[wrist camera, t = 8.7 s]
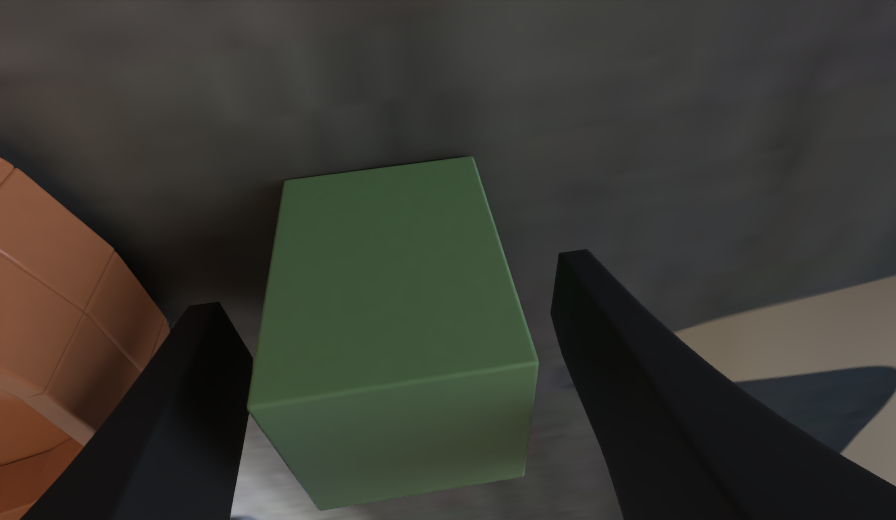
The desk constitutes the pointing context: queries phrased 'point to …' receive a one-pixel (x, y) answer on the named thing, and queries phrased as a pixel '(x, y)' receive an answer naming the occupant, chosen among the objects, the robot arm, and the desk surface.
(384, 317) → the green block
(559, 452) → the desk surface
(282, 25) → the desk surface
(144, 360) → the basin
